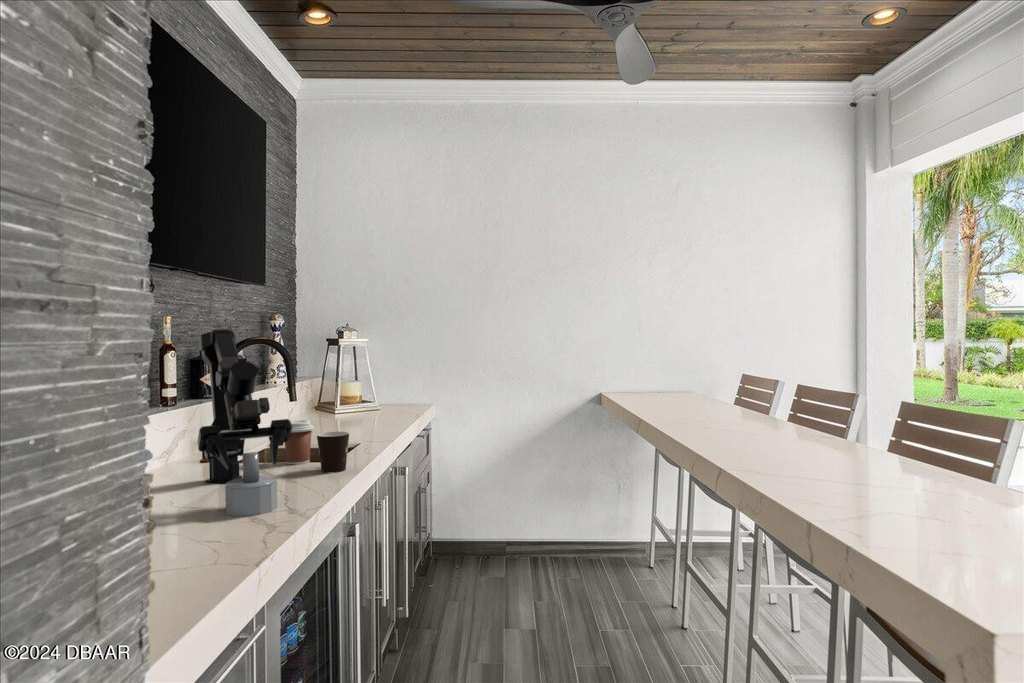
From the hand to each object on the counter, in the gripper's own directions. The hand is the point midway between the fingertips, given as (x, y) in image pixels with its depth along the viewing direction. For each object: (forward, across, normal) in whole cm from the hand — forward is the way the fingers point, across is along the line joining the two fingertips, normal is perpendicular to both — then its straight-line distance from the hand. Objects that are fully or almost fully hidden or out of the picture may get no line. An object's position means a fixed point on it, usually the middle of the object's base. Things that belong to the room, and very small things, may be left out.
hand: (252, 466), depth 133 cm
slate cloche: (+6, 0, +8) cm, 10 cm away
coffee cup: (-26, +22, +40) cm, 52 cm away
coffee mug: (-14, +28, +28) cm, 42 cm away
